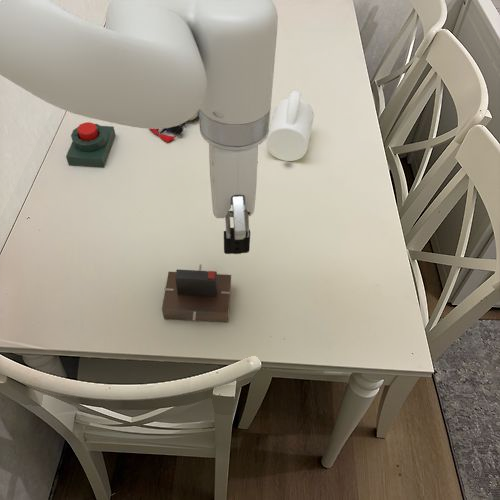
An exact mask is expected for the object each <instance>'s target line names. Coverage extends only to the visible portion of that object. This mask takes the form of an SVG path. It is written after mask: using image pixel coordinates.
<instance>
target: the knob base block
mask: <svg viewBox="0 0 500 500" xmlns="http://www.w3.org/2000/svg"><path fill="white" fill-rule="evenodd" d="M202 268H203V265H202V264H199V266H198V271H202ZM175 276H176V271H168V272H167V276H166V277H167V278H166V283H165V288H164V294H163V300H162V308H161V311H162V317H163V319H164V320H171V321H172V320H174V321H191V322H208V323H209V322H210V323H229V316H230V305H231V304H230V303H231V288H232V274H224V273H223V274H222V273H221V274H220V273H217V296H216V297H215V296H197V295H178V294H177V287H176V280H175Z"/></svg>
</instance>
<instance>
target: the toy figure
mask: <svg viewBox="0 0 500 500" xmlns="http://www.w3.org/2000/svg"><path fill="white" fill-rule="evenodd" d="M196 118H199V110H198V112H197V113H196V114H195V115H194V116H193V117H192V118H190V119H189V120H188V121H193V120H195V119H196ZM185 124H186V122H184V123H182V124H181V125H178V126H174V127H170V128H163V129H162V130H161V131H160V132H159V130H160V129H149V131H150V132H152V133H153V134H155V135H158V137H159V138H160V139H161V140H163V141H164V142H165V143H167V144H168V143H170V142H171V141H173V140H174V139H175V138H176V135H181V134H182V133H183V132H184V128H183V127H184V126H185ZM170 130H171V132H173V133H175V134H176V135H168V134H163V133H164V132H166V131H170Z"/></svg>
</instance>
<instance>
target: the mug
mask: <svg viewBox="0 0 500 500" xmlns="http://www.w3.org/2000/svg"><path fill="white" fill-rule="evenodd" d="M314 117H315V115H314V110H313V108H312V106H311V105H310V104H309V102H308V101H306V100H304V99H302V93H301V91H300V90H299V89H298V90H297V89H293V90H291V92H290V94H289V96H288V97H286V98H284V99H282V100H280V101H279V102H278V103H277V105H276V106H275V108H274V112H273V115H272V119H271V121H270V125H269V133H268V136H267V138H266V148H267V150H268V152H269V153H270V154H271V155H272V156H273V157H274V158H276V159H278V160H280V161H284V162H293V161H297V160H299V159H301V158H303V157H304V156H305V155H306V153H307V152H308V149H309V145H310V144H309V143H310V138H311V133H312V129H313V123H314Z"/></svg>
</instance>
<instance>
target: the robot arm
mask: <svg viewBox="0 0 500 500" xmlns="http://www.w3.org/2000/svg"><path fill="white" fill-rule="evenodd" d="M105 14H106V15H105V27H104V26H101V25H99V24H96V23H94V22H91V21H90V20H88V19H84V18H82V17H80V16H78V15H77V14H74V13H73V12H71V11H70V10H68V9H65V8H64V7H62V6H60V4H58V3H56V2H54V1H53V0H0V76H2V77H3V78H4V79H6V80H8V81H10V82H11V83H13V84H14V85H16V86H18V87H19V88H22V89H23V90H25V91H26V92H28V93H30V94H32V95H33V96H35V97H36V98H39V99H40V100H42V101H44V102H46V103H47V104H49V105H52V106H54V107H57V108H58V109H61V110H63V111H66V112H68V113H71V114H74V115H78V116H81V117H84V118H89V119H92V120H97V121H102V122H107V123H111V124H116V125H121V126H125V127H131V128H137V129H148V130H150V129H159V130H160V129H162V130H163V129H165V128H170V127H174V126H181V125H182V124H183V123H184V122H185V123H187V122H188V121H190V120H189V119H190V118H192V117H193V116H194V115H195V114H196V113H197V112H198V110H199V116H198V121H199V132H200V135H201V137H202V138H203V140H204V141H205V142H207V143H208V159H209V161H208V162H209V179H210V180H209V181H210V194H211V195H210V196H211V206H212V215H213V216H214V218H216V219H224V221H225V230H223V253H224V254H225V255H241V254H247V253H250V244H251V229H250V219H249V217H251V216H252V215H254V213H255V208H256V198H257V197H256V196H257V184H258V183H257V182H258V181H257V180H258V164H259V161H258V160H259V146H260V145H261V144H263V142H265V140H267V136H268V133H269V129H270V125H271V113H272V112H271V110H272V98H273V89H274V88H273V87H274V76H275V75H274V73H275V63H276V61H275V60H276V49H277V38H278V37H277V36H278V23H279V22H278V19H279V17H278V11H277V7H276V5H275V3H274V2H273V0H111V1H110V3H109V4H108V7H107V10H106V13H105ZM231 208H232V210H231ZM231 218H232V220H233V227H231Z"/></svg>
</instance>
